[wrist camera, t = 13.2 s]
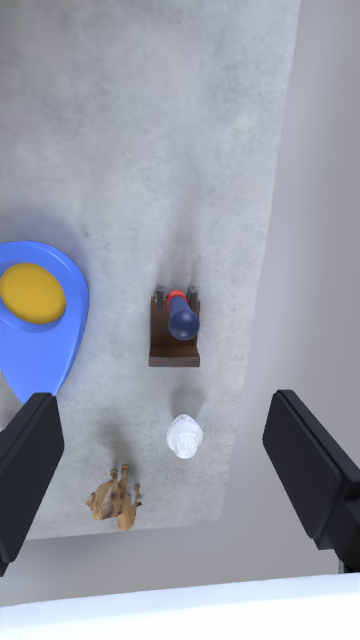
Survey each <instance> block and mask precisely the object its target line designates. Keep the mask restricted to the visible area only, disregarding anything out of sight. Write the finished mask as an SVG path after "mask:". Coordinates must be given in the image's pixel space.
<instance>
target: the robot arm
mask: <svg viewBox="0 0 360 640" xmlns="http://www.w3.org/2000/svg"><path fill="white" fill-rule="evenodd" d="M262 440H263V445H264V447H265V450H266V452H267V454H268V456H269V458H270V460H271V462H272V464H273V466H274V468H275V470H276V472H277V474H278V476H279V478H280V480H281V482H282V484H283V486H284V488H285V491H286V492H287V495H288V497H289V499H290V501H291V503H292V505H293V507H294V509H295V511H296V513H297V515H298V517H299V519H300V521H301V523H302V525H303V527H304V530H305V531H306V533H307V535H308V536H309V537H310V538H311V539H313V540H314V542H315V544H316V546H317V548H318V550H325V549H334V551H335V553H336V555H337V556H338V558H339V571H338V574H331V575H316V576H304V577H293V578H281V579H270V580H260V581H247V582H236V583H227V584H215V585H204V586H194V587H184V588H174V589H163V590H152V591H142V592H131V593H122V594H112V595H102V596H93V597H83V598H73V599H63V600H53V601H42V602H35V603H26V604H19V605H10V606H2V607H0V640H360V469H359V468H358V467H357V466H356V465H355V464H354V462H353V461H352V460H351V459H350V458H349V456H348V455H347V454H346V453H345V452H344V450H343V449H342V448H341V447H340V446H339V445H338V443H337V442H336V441H335V440H334V439H333V437H332V436H331V435H330V434H329V433H328V432H327V430H326V429H325V428H324V427H323V426H322V424H321V423H320V422H319V421H318V420H317V419H316V417H315V416H314V415H313V414H312V413H311V411H310V410H309V409H308V408H307V407H306V406H305V405H304V403H303V402H302V401H301V400H300V399H299V397H298V396H297V395H296V394H295V393H294V391H292V390H277V392H276V393H274V394H273V396H272V400H271V405H270V409H269V413H268V417H267V421H266V425H265V429H264V433H263V438H262ZM63 451H64V439H63V433H62V427H61V422H60V416H59V410H58V405H57V399H56V397H55V396H52V394H51V393H50V392H35V393H33V394H32V395H31V397H30V398H29V399H28V401H27V402H26V403H25V404H24V406H23V407H22V408H21V409H20V411H19V412H18V413H17V414H16V416H15V417H14V418H13V419H12V421H11V422H10V423H9V424H8V426H7V427H6V428H5V429H4V430H2V431H1V432H0V577H3V575H4V573H5V571H6V569H7V567H8V564H9V563H11V562H13V561H14V560H15V559H16V557H17V555H18V553H19V551H20V549H21V547H22V545H23V542H24V540H25V538H26V535H27V533H28V531H29V529H30V526H31V524H32V522H33V520H34V517H35V515H36V513H37V511H38V508H39V506H40V504H41V502H42V499H43V497H44V495H45V493H46V490H47V488H48V486H49V484H50V481H51V479H52V477H53V475H54V472H55V470H56V468H57V465H58V463H59V461H60V459H61V456H62V454H63Z"/></svg>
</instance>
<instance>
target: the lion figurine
mask: <svg viewBox="0 0 360 640" xmlns="http://www.w3.org/2000/svg"><path fill="white" fill-rule="evenodd" d="M127 470H128V466H127V465H123V466H122V477H121V481H117V476H118V474H117V472H116V471H115V470H113V471H111V473H110V475H111V476H113V478H112V479H111V480H109V481H108V482H107V483H102V484H101V485H100V486H99V487H98V489H97V490H96V492H92V494H91V496H89V497H88V499H87V501H86V505H88V506H89V507H90V508H91V511H93V516H92V517H93V518H94V519H95V520H99V519H100V520H104V519H106V518H111V517H117V518H118V526H119V528H120V529H122V530H125V531H127V530H129V529H130V528H131V527H132V525H133V523H134V520H135V516H136V507H138V506H140V505H142V503H141V502H138V503H136V502H137V498H138V491H139V488H140V485H135V486H134V490H135V493H134V499H133V502H132V504H131V507H130V503H131V498H130V497H129V495H128V493H127V492H126V480H127Z"/></svg>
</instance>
